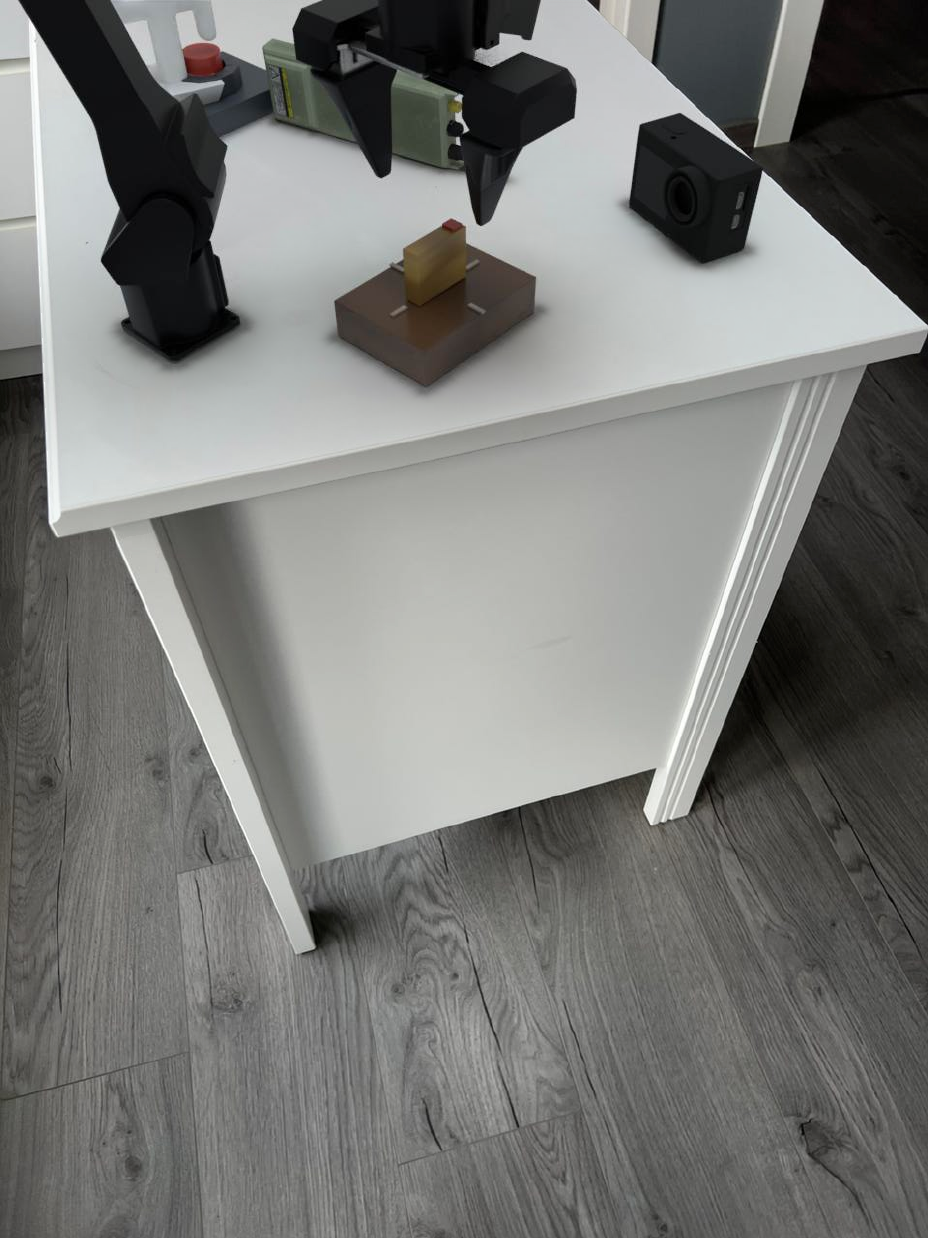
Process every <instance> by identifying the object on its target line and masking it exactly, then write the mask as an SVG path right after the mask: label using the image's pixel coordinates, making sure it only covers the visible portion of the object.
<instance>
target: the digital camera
mask: <svg viewBox="0 0 928 1238" xmlns="http://www.w3.org/2000/svg"><path fill="white" fill-rule="evenodd" d="M632 169H633V171H632V177H631V186H630V193H629V201H628V206H629V207H631V209H633V210H634V211H636V212H637V213H638V214H639V215H641V216H642V217H643V218H644V219H646V221H648V222H650V223H651V224H652V226H654V227H656V228H657V229H658V230H659V231H661V232H662V233H663V234H665V235H666V236H667V237H668V238H670V239H671V240H672V241H673V242H674V243H676V244H677V245H678V246H680V247H681V248H683V249H684V250H685V251H687V252H688V253H689V254H690V255H692V256H693V257H694V258H695V259H697V260H698V261H700V262H701V263H702V264H703V263H704V264H705V263H707V262H710V261H711V262H712V261H713V260H717V259H719V258H721V257H722V258H723V257H725V256H728V255H731V254H733V253H736V252H739V251H742V250H744V249H745V247H746V244H747V243H746V242H747V239H748V234H749V231H750V226H751V222H752V217H753V214H754V209H755V205H756V201H757V198H758V197H757V196H758V193H759V190H760V189H759V188H760V184H761V180H762V175H763V171H764V167H763V166H761V164H759V163H757V162H756V161H755V160H753V159H752V158H750V157H748V156H747V155H745V154H744V153H743V152H741V151H740V150H739V149H737V148H735V147H734V146H733V145H731V144H730V143H728V142H727V141H725V140H723V139H722V138H720V137H718V136H717V135H716V134H714V133H713V132H712V131H709V130H708V129H707V128H705V127H703V126H702V125H700V124H699V123H698V122H696V121H694V120H692V119H691V118H689V117H688V116H687V115H685V114H683V113H682V112H677V113H675V114H670V115H667V116H663V117H660V118H656V119H653V120H650V121H647V122H643V123H640V124H639V126H638V131H637V139H636V147H635V155H634V163H633V168H632Z"/></svg>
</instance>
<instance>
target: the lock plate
mask: <svg viewBox="0 0 928 1238" xmlns="http://www.w3.org/2000/svg"><path fill="white" fill-rule="evenodd" d="M536 286H537V276H536V275H533V274H531V273H528V272H527V271H525V270H522V269H521V268H519V267H516V266H514V265H512V264H510V263H508V262H506V261H504V260H502V259H500V258H498V257H496V256H494V255H492V254H490V253H488V252H486V251H483V250H481V249H479V248H477V247H476V246H473V245H471V244H470V243H467V242H466V277H465V278H463V279H462V280H460V281H459V282H457V283H455V284H454V285H452V286H451V287H449V288H448V289H446V290H444V291H443V292H441V293H440V294H438V295H437V296H435V297H433V298H432V299H430V300H429V301H427V302H426V303H424V304H423V305H421V306H418V305H416V304H414V303H412V302H410V301H409V300H407V299H406V293H405V276H404V258H403V259H401V260H399V261H398V262H396V263H395V262H393V261H392V262H390V263H389V267H388V268H386V269H385V270H383V271H381V272H379V273H378V274H376V275H375V276H372V277H371V278H369V279H368V280H366V281H365V282H363V283H361V284H360V285H358V286H356V287H355V288H353V289H351V290H349V291H348V292H347V293H344V294H343V295H341V296H340V297H338V298H336V299H334V300H333V306H334V312H335V313H334V314H335V320H336V321H335V322H336V330H337V337H340V338H341V339H343V340H345V341H346V342H348V343H350V344H351V345H353V346H355V347H357V348H359V349H360V350H362V351H364V352H365V353H367V354H369V355H370V356H373V357H374V358H376V359H378V360H379V361H380V362H383V363H385V364H386V365H387V366H389V367H391V368H393V369H395V370H397V371H398V372H400V373H401V374H403V375H405V376H406V377H408V378H410V379H412V380H413V381H415V382H417V383H418V384H420V385H422V386H424V387H429V386H430V385H431V384H433V383H434V382H435V381H438V379H440V378H442V377H443V376H444V375H445V374H447V373H448V372H450V371H451V370H452V369H454V368H455V367H457V366H458V365H460V364H461V363H463V362H464V361H465V360H467V359H469V358H470V357H472V356H473V355H474V354H476V353H478V352H479V351H481V349H483V348H484V347H486V346H487V345H489V344H490V343H492V342H493V341H494V340H496V339H497V338H499V337H500V336H502V335H504V333H506V332H507V331H509V330H511V329H512V328H513V327H515V326H516V325H517V324H519V323H520V322H522V321H524V319H526V318H528V317H529V316H530V315H532V314H534V313H535V303H536V289H537V287H536Z"/></svg>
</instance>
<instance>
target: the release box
mask: <svg viewBox="0 0 928 1238" xmlns="http://www.w3.org/2000/svg"><path fill="white" fill-rule="evenodd" d="M220 52H221V58H222V63H223V70H222V71H220V72H218V73H215V74H212V75H205V76H194V75H188V74H187V78H185V79H183V80H181V81H182V82H191V83H205V82H212V81H218V80H222V81H223V82H224V83H225V84H224V87H223V90H222V93H221V96H220V99H219V101H216V102H212V103H208V104H204V105H203V106H204V109H205V112H206V115H207V118H208V120H209V123H210V125H211V127H212V129H213V130H214V131H215V133H216V134H217V136H218V137H219V138H221V137H223V136H225V135H228V134H230V133H231V132H234V131H236V130H238V129H240V128H242V127H244V126H246V125H249V124H251V123H253V122H256V121H259V120H260V119H262V118H264V117H267V116H269V115H270V114H274V112H273V106H272V101H271V95H270V89H269V84H268V78H267V72H266V68H265V69H264V68H263V67H260V66H258V65H255V64H253V63H252V62H251V63H250V62H248V61H246V60H244V59H241V58H239V57H238V56H234V55H233V54H230V53H228V52H226V51H224V50H221V51H220Z"/></svg>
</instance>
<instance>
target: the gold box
mask: <svg viewBox="0 0 928 1238" xmlns="http://www.w3.org/2000/svg"><path fill="white" fill-rule="evenodd" d="M466 243H467V227H466V226H465V225H464V223H462V222H460V221H458V220H456V219H454V218H452V217H451V218H449V219H447V220H445V221H444V222H442V223H441V225H440V226H438V227H437V228H435V229H433V230H432V231H430V232H428V233H427V234H425V235H423V236H422V237H420V238H418V239H417V240H415V241H413V242H412V243H410V244H409V245H408V244H407V246H405V247H403V248H402V255H403V259H404V276H405V293H406V299H407V300H409V301H410V302H412V303H414V304H416V305H418V306H421V305H423V304H424V303H426V302H427V301H429V300H430V299H432V298H433V297H435V296H437V295H438V294H440V293H441V292H443V291H444V290H446V289H448V288H449V287H451V286H452V285H454V284H455V283H457V282H459V281H460V280H462V279H463V278H465V277H466Z"/></svg>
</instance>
